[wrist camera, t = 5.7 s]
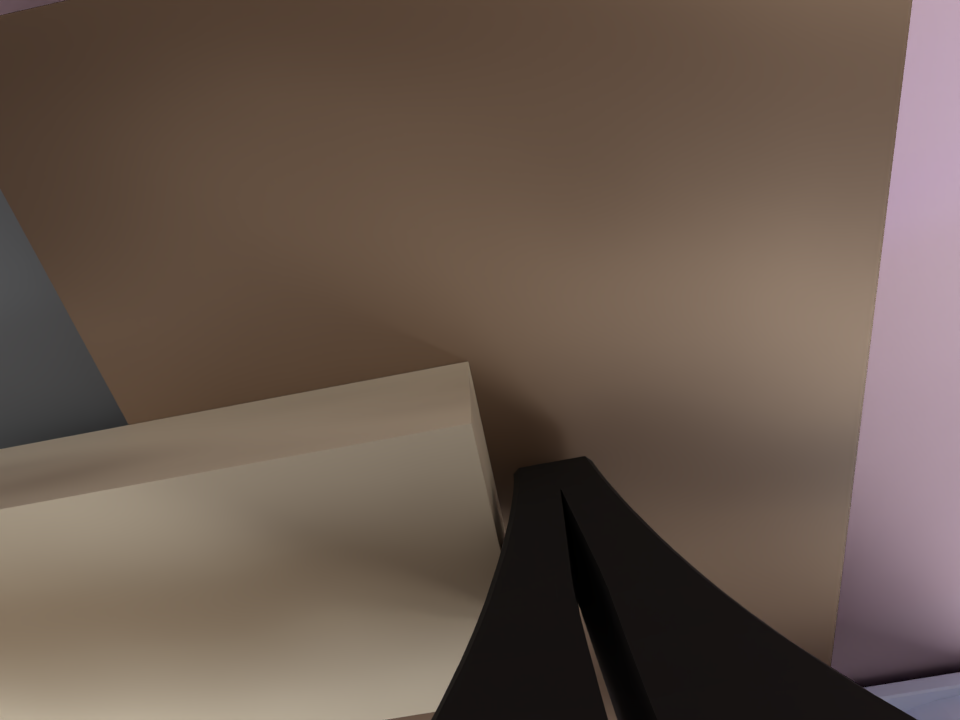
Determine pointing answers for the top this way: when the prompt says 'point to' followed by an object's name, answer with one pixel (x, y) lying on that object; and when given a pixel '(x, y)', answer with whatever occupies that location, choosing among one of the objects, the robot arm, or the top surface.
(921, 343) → the top surface
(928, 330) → the top surface
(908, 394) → the top surface
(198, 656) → the birch block
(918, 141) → the top surface
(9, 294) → the charcoal mat
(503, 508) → the walnut board
